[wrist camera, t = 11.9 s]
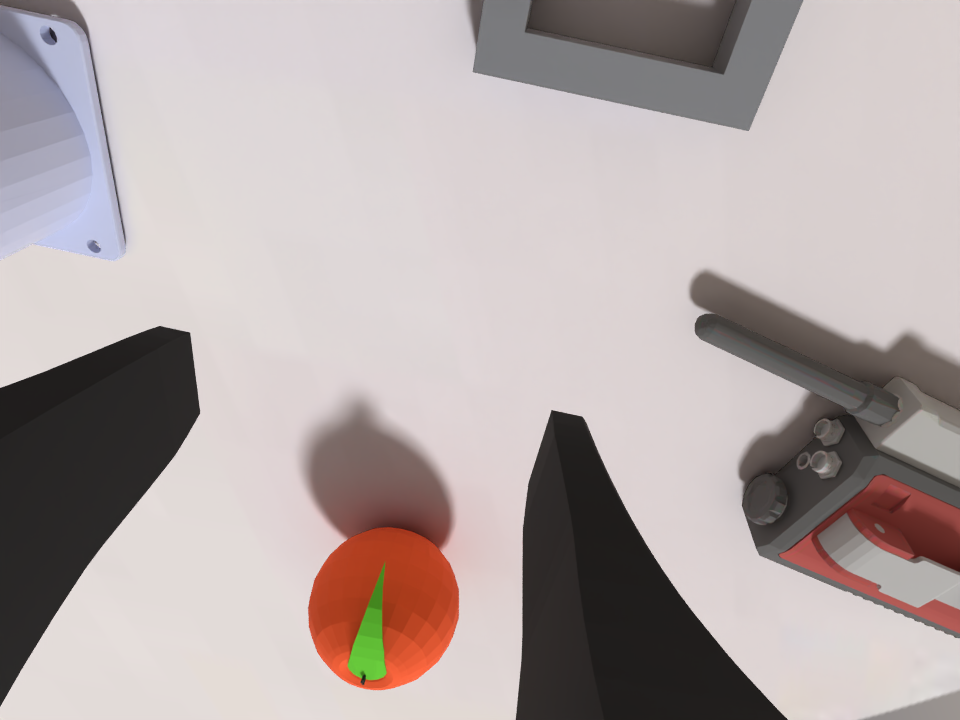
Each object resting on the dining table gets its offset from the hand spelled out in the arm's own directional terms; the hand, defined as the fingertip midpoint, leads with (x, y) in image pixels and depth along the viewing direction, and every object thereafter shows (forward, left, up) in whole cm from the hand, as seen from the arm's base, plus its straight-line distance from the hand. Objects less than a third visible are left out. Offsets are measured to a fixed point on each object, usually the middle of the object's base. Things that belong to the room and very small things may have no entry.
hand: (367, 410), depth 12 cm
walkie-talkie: (+18, -7, -11) cm, 22 cm away
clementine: (0, -17, -11) cm, 20 cm away
